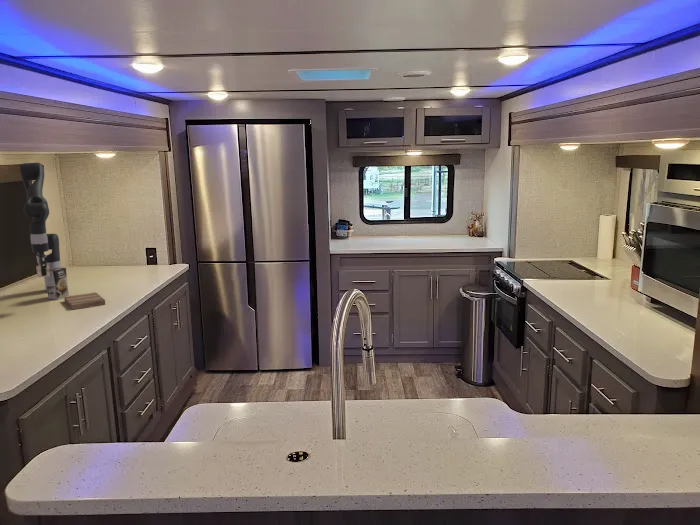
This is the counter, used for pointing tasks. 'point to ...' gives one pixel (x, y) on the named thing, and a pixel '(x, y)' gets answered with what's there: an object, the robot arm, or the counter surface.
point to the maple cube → (40, 271)
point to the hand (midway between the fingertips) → (43, 274)
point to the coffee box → (57, 283)
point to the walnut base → (84, 300)
